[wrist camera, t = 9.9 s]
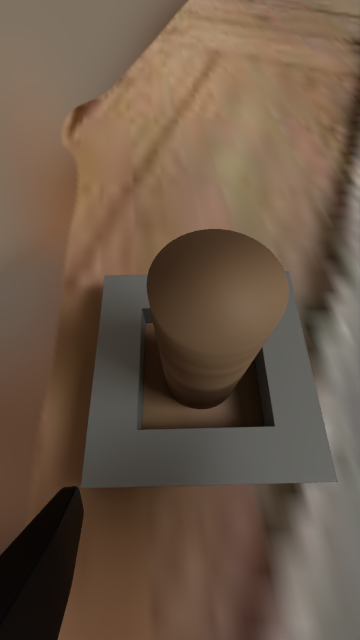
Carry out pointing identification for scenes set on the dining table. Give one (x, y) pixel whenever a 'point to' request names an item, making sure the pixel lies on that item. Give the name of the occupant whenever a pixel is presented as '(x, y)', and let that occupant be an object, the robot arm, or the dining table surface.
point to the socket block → (199, 443)
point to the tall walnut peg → (213, 311)
